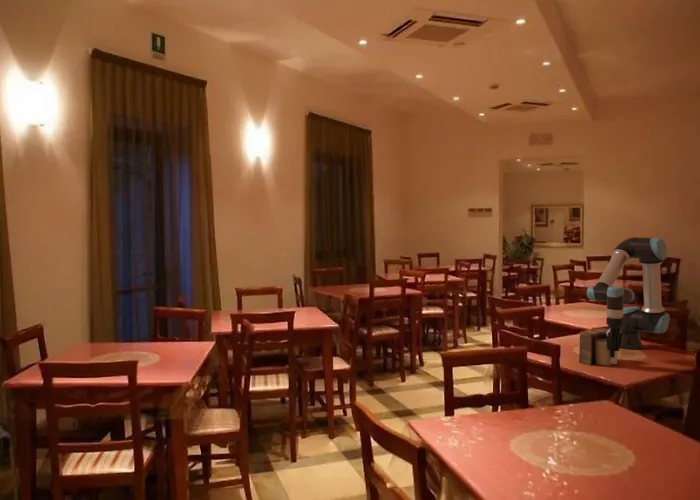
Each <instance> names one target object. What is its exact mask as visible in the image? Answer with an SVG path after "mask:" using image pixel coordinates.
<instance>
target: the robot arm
mask: <svg viewBox="0 0 700 500" xmlns="http://www.w3.org/2000/svg"><path fill="white" fill-rule="evenodd" d="M667 254H668V248H667V244H666V242H665V241H664V239H662V238H660V237H658V238H657V237H636V236H635V237H629V238H626V239H624V240H623V241H622V242H619V244H617V245H616V247H615V248H614V249H613V250H612V252H611V258H610V260H609V262H608V263H607V264H606V267H605V269H604V270H603V272H602V274H601V275H600V277H599V279H598V280H597V282H596V283H595V285H590V286H588V287H587V290H586V296H587V298H588V300H590V301H595V302H606V320H605V321H606V322H605V323H606V325H607V326H608V327H607V329H608V331H607V332H605V335H606V342H607V349H608V350H610V363H612V364H613V365H617V364H618V352H620V351H621V349H624V350H641V349H643V342H642V340H641V336H640V331H641V332H647V333H654V334H664V333H666V332H667V330H668V327H669V325H670V319H671V318H670V314H669V313H667V312H666V309H665V307H664V306H663V304H662V281H661V278H662V277H661V265H662V263H663V262H664V260H666V259H667V256H668V255H667ZM631 259H638V262H639V264H640V265H642V284H643V285H642V286H643V306H642V308H640V307H639V306H625V307H624V305H625V304H626V305H627V304H630V303H632V302H633V301H634V300H635V297H636V296H635V293H634V291H633V290H632V289H631V288H624V287H622V286H615V285H614V284H615V282H616V281H617V279H618V277H619V275H620V274H621V272H622V270H623V268H624V266H625V264H626V263H628V262H629V261H630V260H631Z"/></svg>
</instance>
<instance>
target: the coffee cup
mask: <svg viewBox="0 0 700 500" xmlns="http://www.w3.org/2000/svg"><path fill="white" fill-rule="evenodd" d="M594 342H595V360H594V361H595V364H597V365H600V366H612V363H610V350H608V349H607V342H606V339H595V341H594Z"/></svg>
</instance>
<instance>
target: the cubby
mask: <svg viewBox="0 0 700 500" xmlns="http://www.w3.org/2000/svg"><path fill="white" fill-rule="evenodd" d="M607 331H608V328H603V327H602V328H595V329H590V330H583V331H579V355H578V356H579V359H578V360H579V364H583V365H586V366H592V364H593V361H595V342H594V341H595V339H606V335H605V332H607Z"/></svg>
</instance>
